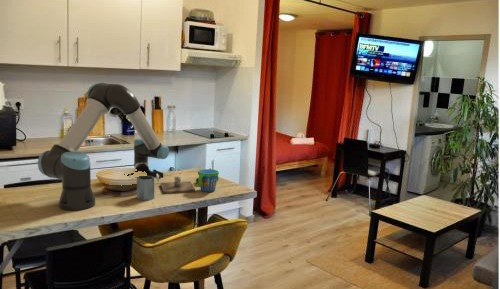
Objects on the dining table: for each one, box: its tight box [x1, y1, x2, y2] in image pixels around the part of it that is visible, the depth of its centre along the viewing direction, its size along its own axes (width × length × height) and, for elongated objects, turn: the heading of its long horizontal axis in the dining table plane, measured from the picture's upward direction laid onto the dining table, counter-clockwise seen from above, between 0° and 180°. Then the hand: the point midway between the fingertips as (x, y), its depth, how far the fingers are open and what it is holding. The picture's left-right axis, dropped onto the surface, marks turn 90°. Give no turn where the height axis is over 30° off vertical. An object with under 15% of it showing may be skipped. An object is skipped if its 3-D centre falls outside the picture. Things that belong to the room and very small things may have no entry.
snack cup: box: [197, 168, 220, 193], centre depth 214 cm, size 16×10×10 cm
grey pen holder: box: [136, 176, 155, 201], centre depth 198 cm, size 8×8×10 cm
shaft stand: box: [160, 175, 196, 195], centre depth 216 cm, size 16×16×6 cm
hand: (144, 180), depth 207 cm, fingers open, 13 cm apart
